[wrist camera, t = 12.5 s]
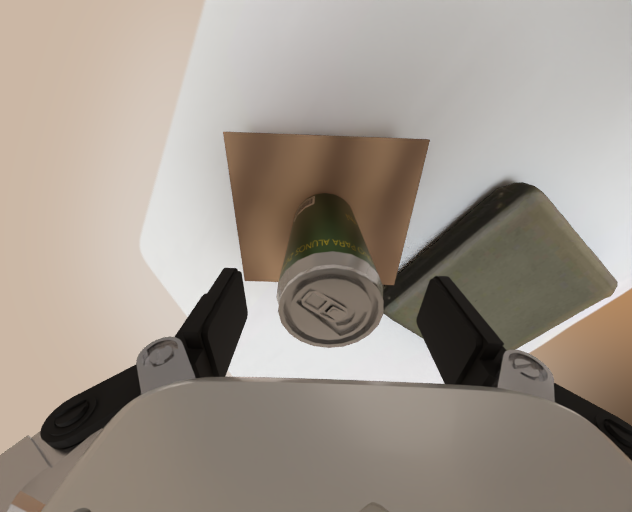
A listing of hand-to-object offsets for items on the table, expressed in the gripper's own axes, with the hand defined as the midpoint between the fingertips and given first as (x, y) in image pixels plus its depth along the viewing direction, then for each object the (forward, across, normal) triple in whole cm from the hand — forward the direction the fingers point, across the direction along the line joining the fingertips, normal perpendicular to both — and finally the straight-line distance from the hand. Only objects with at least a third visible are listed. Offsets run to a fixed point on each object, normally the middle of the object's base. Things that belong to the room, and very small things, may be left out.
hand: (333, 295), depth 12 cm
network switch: (+19, -22, +12) cm, 31 cm away
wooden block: (+18, 0, 0) cm, 18 cm away
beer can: (+11, 0, 0) cm, 11 cm away
